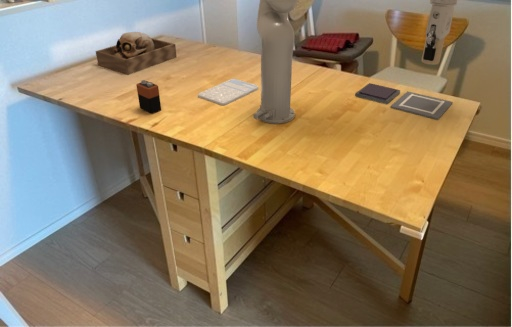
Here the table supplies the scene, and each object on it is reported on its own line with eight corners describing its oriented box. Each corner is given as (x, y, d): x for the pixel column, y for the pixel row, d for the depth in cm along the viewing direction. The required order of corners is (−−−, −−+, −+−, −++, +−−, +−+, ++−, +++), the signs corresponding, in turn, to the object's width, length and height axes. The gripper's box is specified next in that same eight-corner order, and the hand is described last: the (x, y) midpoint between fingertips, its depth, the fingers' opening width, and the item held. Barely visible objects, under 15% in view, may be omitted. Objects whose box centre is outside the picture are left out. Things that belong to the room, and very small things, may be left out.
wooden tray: (128, 74, 176) (126, 60, 173) (98, 65, 186) (95, 51, 183) (176, 57, 195) (175, 44, 191) (146, 49, 205) (144, 36, 202)
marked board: (437, 120, 139) (438, 117, 139) (390, 107, 148) (390, 105, 147) (452, 103, 150) (452, 101, 150) (407, 92, 158) (407, 90, 158)
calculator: (196, 98, 157) (196, 93, 156) (233, 81, 170) (233, 77, 169) (223, 107, 150) (223, 102, 149) (259, 90, 163) (259, 85, 162)
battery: (151, 114, 144) (147, 86, 139) (139, 109, 148) (134, 81, 143) (162, 110, 147) (158, 82, 142) (149, 105, 151) (145, 77, 146)
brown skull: (109, 68, 182) (105, 35, 176) (123, 59, 198) (120, 28, 192) (147, 70, 181) (144, 37, 175) (158, 61, 197) (156, 30, 191)
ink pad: (386, 104, 150) (387, 100, 149) (354, 96, 156) (355, 92, 155) (399, 93, 158) (400, 89, 157) (369, 86, 164) (369, 82, 163)
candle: (436, 59, 143) (443, 28, 138) (441, 65, 138) (448, 33, 133) (419, 59, 143) (425, 28, 138) (423, 64, 139) (430, 33, 133)
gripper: (448, 5, 123) (434, 67, 132) (464, -5, 134) (451, 52, 144) (421, 1, 126) (410, 62, 136) (440, -8, 138) (428, 48, 148)
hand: (431, 56), depth 140 cm, fingers closed on candle, 5 cm apart
